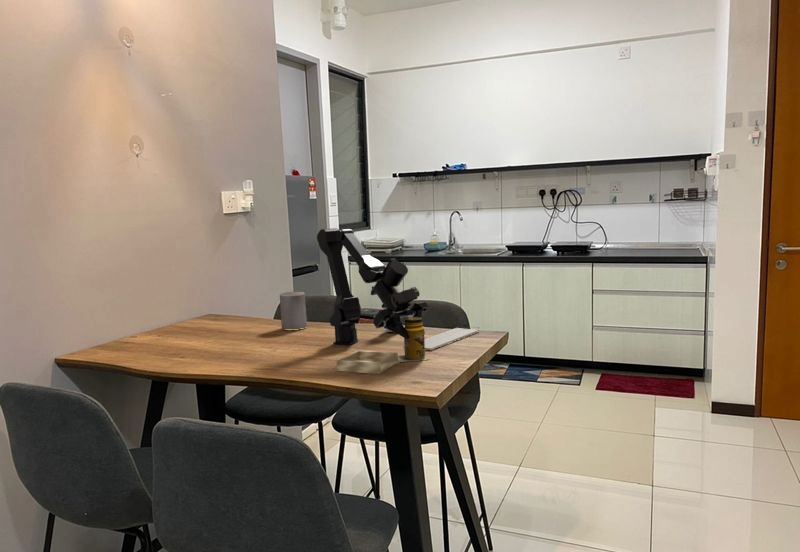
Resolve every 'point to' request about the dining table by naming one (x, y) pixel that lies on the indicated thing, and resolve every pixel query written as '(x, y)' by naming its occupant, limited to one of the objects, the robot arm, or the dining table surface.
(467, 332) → the baseboard molding
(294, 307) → the pillar candle
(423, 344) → the condiment
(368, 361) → the caddy
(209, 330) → the dining table surface
